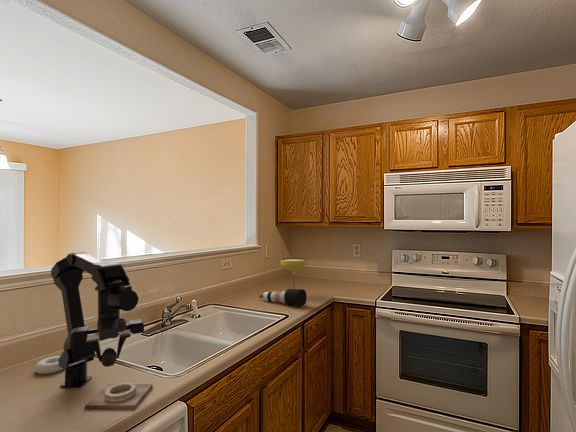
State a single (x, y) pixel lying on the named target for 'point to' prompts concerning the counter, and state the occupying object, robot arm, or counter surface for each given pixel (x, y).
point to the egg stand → (119, 396)
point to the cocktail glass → (293, 265)
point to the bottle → (287, 297)
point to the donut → (48, 365)
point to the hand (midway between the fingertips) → (109, 359)
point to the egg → (108, 357)
